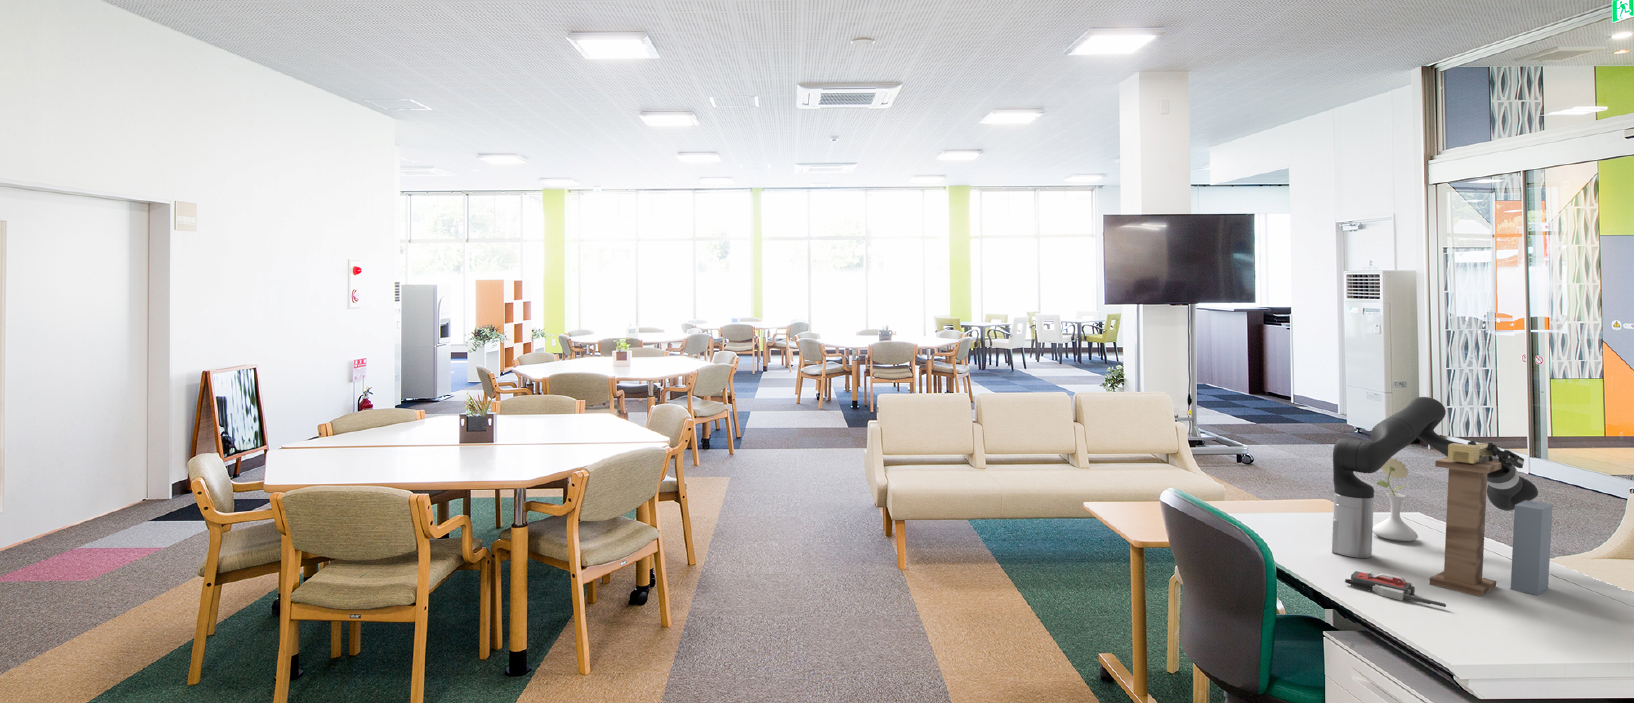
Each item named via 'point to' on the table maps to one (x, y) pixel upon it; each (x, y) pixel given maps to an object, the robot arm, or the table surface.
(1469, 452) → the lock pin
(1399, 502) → the flower in vase
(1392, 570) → the table surface
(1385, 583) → the red long two-tone device
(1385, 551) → the table surface
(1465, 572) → the brown wooden pedestal
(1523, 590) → the grey rectangular pillar
